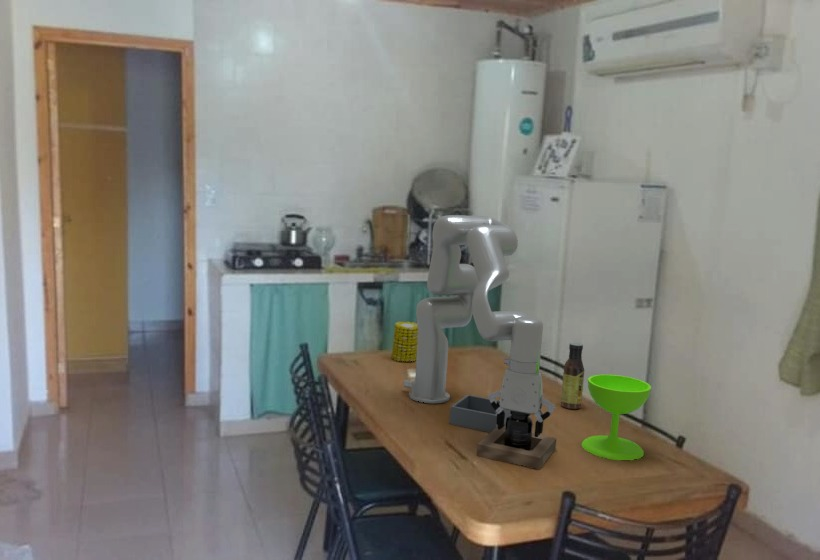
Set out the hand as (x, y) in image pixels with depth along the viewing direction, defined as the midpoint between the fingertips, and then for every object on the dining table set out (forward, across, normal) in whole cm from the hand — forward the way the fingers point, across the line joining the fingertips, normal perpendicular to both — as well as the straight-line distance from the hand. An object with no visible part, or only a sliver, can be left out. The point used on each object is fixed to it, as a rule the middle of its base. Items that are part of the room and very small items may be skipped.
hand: (518, 431), depth 191 cm
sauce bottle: (+6, +3, +47) cm, 48 cm away
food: (+5, -63, +66) cm, 92 cm away
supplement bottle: (+6, 0, 0) cm, 6 cm away
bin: (+5, -16, +17) cm, 24 cm away
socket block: (+6, 0, 0) cm, 6 cm away
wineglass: (+6, +21, +17) cm, 28 cm away
